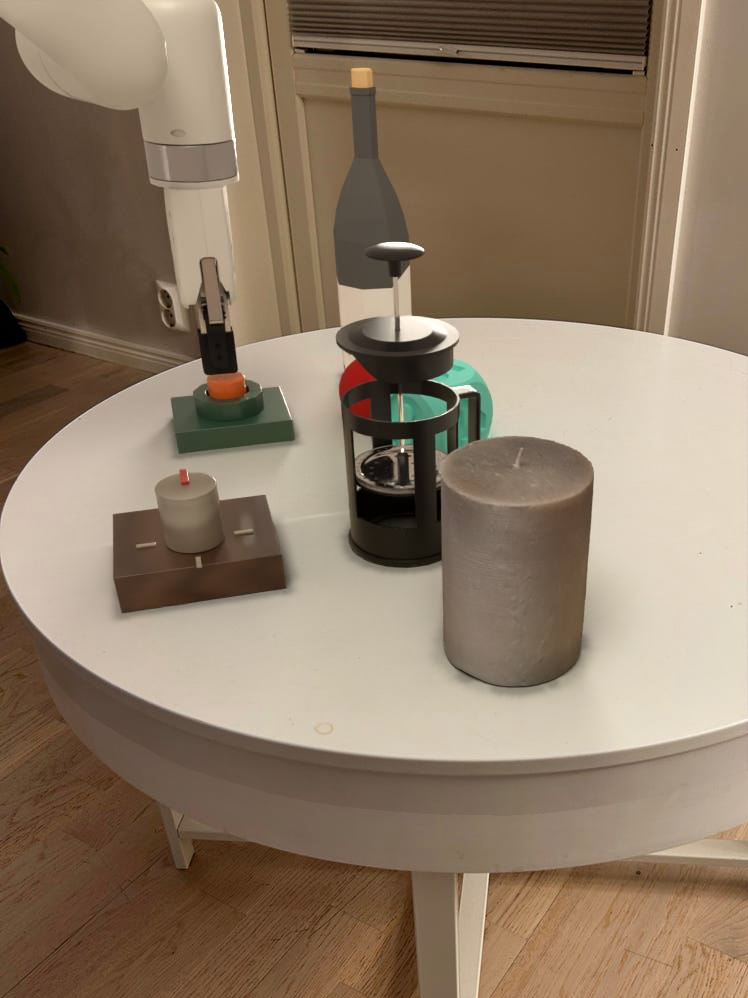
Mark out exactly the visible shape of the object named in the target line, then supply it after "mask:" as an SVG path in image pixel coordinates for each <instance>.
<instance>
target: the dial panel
mask: <svg viewBox="0 0 748 998" xmlns="http://www.w3.org/2000/svg"><path fill="white" fill-rule="evenodd" d="M219 502H220V508H221V514H222V520H223V526H224V532H225V538H224V540H223V541H222V543H221V544H219V545H218V546H216V547H215V548H213V549H210V550H207V551H204V552H199V553H180V552H176V551H173V550H171V549H170V548H168V547H167V545H166V543H165V538H164V533H163V528H162V524H161V519H160V514H159V509H158V507H156V508H148V509H142V510H133V511H127V512H119V513H117V512H116V513H112V568H113V569H112V577H113V583H114V587H115V591H116V596H117V600H118V603H119V608H120V612H121V613H129V612H134V611H135V612H136V611H142V610H143V611H144V610H149V609H155V608H162V607H168V606H174V605H175V606H176V605H183V604H188V603H189V604H190V603H195V602H201V601H208V600H215V599H223V598H229V597H234V596H242V595H247V594H255V593H261V592H268V591H275V590H282V589H286V588H287V582H286V575H285V566H284V558H283V553H282V548H281V545H280V541H279V538H278V535H277V531H276V527H275V524H274V523H275V522H274V520H273V516H272V512H271V508H270V505H269V502H268V498H267V495H266V494H258V495H251V496H243V497H236V498H234V497H233V498H227V499H219Z"/></svg>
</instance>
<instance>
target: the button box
mask: <svg viewBox="0 0 748 998" xmlns="http://www.w3.org/2000/svg"><path fill="white" fill-rule="evenodd" d="M245 384H246V391H247V394H246V395H243V396H240V397H237V398H233V399H215V398H211V397H209V392H208V385H207V382H205V383H201V384H200V385H199V386H197V387H196V388H195V389H194V390H192V395H183V396H174V397H170V405H171V412H172V419H173V427H174V428H173V429H174V434H175V435H174V436H175V439H176V446H177V451H178V454H179V455H181V454H182V455H183V454H189V453H199V452H206V451H215V450H223V449H233V448H240V447H250V446H259V445H266V444H267V445H269V444H274V443H275V444H276V443H285V442H293V441H295V431H294V429H295V428H294V421H293V418H292V416H291V415H292V414H291V413H290V410H289V407H288V404H287V402H286V399H285V396H284V393H283V391H282V388H281V386H271V387H262V386H261V384H260V383H258V382H255V381H253V380H251V379H245Z"/></svg>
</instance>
